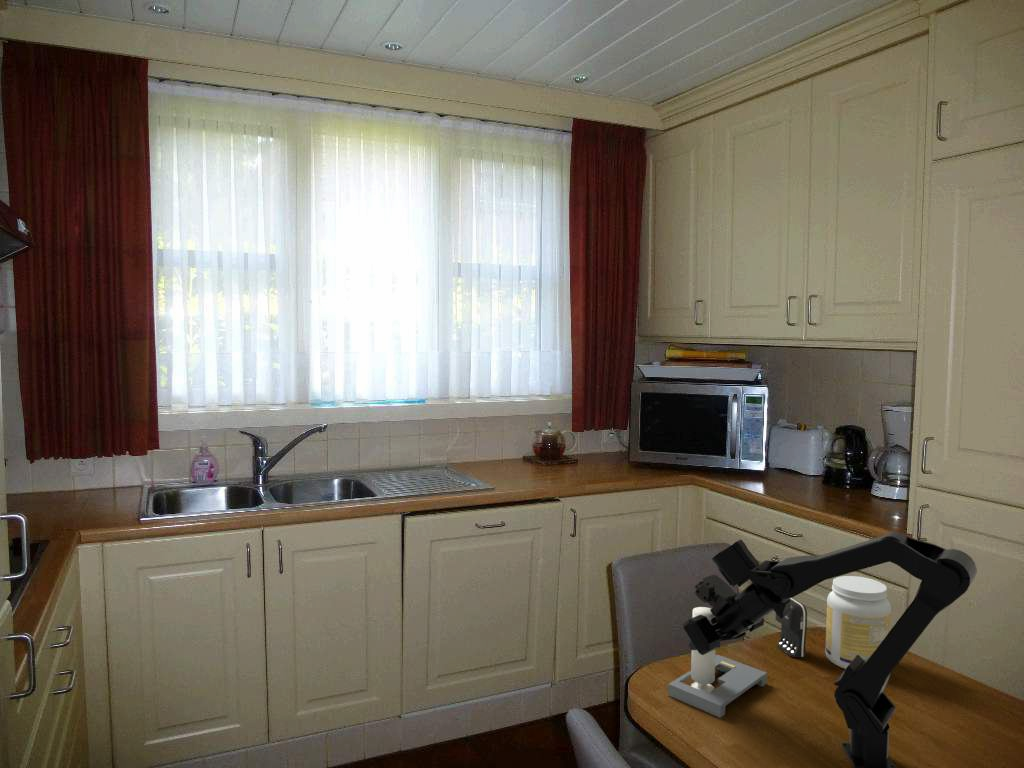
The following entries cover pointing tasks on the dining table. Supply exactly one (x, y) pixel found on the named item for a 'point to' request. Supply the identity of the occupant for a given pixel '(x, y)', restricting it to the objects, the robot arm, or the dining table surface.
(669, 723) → the dining table surface
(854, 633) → the supplement tub
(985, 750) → the dining table surface
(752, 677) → the keyhole plate
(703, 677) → the footed peg
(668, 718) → the dining table surface
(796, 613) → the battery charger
